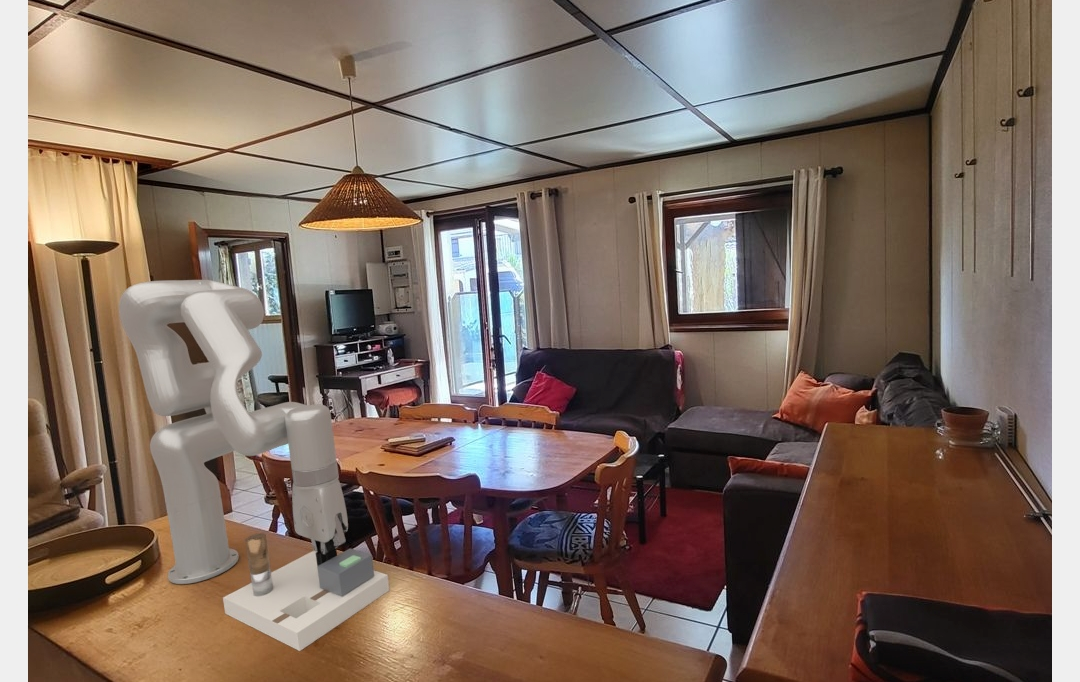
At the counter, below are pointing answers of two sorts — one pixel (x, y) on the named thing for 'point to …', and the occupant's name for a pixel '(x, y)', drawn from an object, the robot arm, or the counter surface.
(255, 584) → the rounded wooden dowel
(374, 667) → the counter surface
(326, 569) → the block
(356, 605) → the white flat rectangular board
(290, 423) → the robot arm
